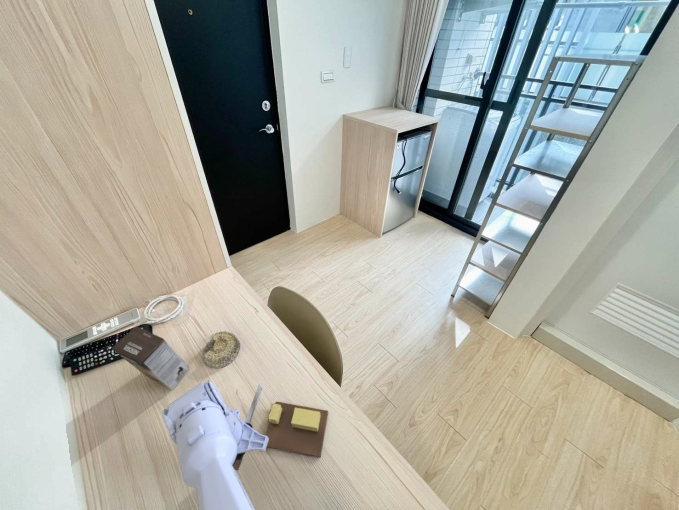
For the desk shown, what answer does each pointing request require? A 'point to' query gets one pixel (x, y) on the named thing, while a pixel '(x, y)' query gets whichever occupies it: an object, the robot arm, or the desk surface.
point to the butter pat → (275, 413)
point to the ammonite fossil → (221, 350)
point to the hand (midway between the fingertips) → (239, 446)
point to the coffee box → (152, 357)
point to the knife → (249, 420)
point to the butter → (306, 419)
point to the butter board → (296, 433)
